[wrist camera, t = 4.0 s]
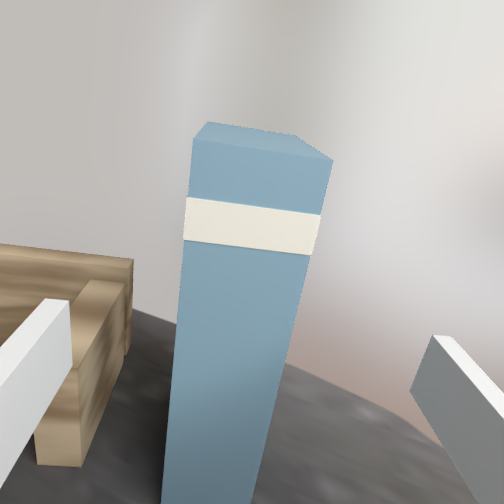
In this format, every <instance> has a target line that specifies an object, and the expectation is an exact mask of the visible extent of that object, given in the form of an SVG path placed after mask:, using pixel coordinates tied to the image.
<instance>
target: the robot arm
mask: <svg viewBox="0 0 504 504" xmlns="http://www.w3.org/2000/svg"><path fill="white" fill-rule="evenodd" d="M72 366H73V362H72V345H71V327H70V309H69V301H67V300H57V299H46V298H45V299H44V300H43V301H42V302H41V304H40V305H39V306H38V307H37V308H36V309H35V310H34V311H33V312H32V313H31V314H30V315H29V317H28V318H27V319H26V320H25V321H24V322H23V323H22V324H21V325H20V326H19V327H18V329H17V330H16V331H15V332H14V333H13V334H12V335H11V336H10V337H9V338H8V339H7V340H6V342H5V343H4V344H3V345H2V346H1V347H0V488H1V486H2V485H3V483H4V481H5V480H6V478H7V476H8V474H9V473H10V471H11V469H12V468H13V466H14V464H15V463H16V461H17V459H18V457H19V456H20V454H21V452H22V451H23V449H24V447H25V446H26V444H27V442H28V440H29V439H30V437H31V435H32V434H33V432H34V430H35V429H36V427H37V425H38V423H39V422H40V420H41V418H42V417H43V415H44V413H45V412H46V410H47V408H48V406H49V405H50V403H51V401H52V400H53V398H54V396H55V395H56V393H57V391H58V389H59V388H60V386H61V384H62V383H63V381H64V379H65V378H66V376H67V374H68V372H69V371H70V369H71V367H72ZM410 392H411V394H412V396H413V397H414V399H415V401H416V402H417V404H418V406H419V407H420V409H421V411H422V412H423V414H424V416H425V417H426V419H427V421H428V422H429V424H430V425H431V427H432V429H433V430H434V432H435V434H436V435H437V437H438V439H439V440H440V442H441V444H442V445H443V447H444V448H445V450H446V452H447V453H448V455H449V457H450V458H451V460H452V462H453V463H454V465H455V467H456V468H457V470H458V471H459V473H460V475H461V476H462V478H463V480H464V481H465V483H466V485H467V486H468V488H469V490H470V491H471V493H472V494H473V496H474V498H475V499H476V501H477V503H478V504H504V393H503V392H502V391H501V390H500V389H499V388H498V387H497V386H496V385H495V384H494V383H493V381H492V380H491V379H490V378H489V377H488V376H487V375H486V374H485V373H484V372H483V371H482V370H481V369H480V367H479V366H478V365H477V364H476V363H475V362H474V361H473V360H472V359H471V358H470V357H469V355H468V354H467V353H466V352H465V351H464V350H463V349H462V348H461V347H460V346H459V345H458V343H457V342H456V341H455V340H454V339H453V338H452V337H450V336H439V335H432V337H431V340H430V342H429V344H428V347H427V349H426V352H425V354H424V357H423V359H422V362H421V364H420V366H419V369H418V371H417V374H416V376H415V379H414V381H413V384H412V386H411V388H410Z"/></svg>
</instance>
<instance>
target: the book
mask: <svg viewBox="0 0 504 504" xmlns="http://www.w3.org/2000/svg"><path fill="white" fill-rule="evenodd" d="M332 164H333V160H332V159H331V158H329V157H328V156H326V155H324V154H323V153H321V152H320V151H318V150H317V149H315V148H314V147H312V146H311V145H309V144H307V143H306V142H304V141H303V140H301V139H300V138H298V137H297V136H295V135H289V134H282V133H276V132H270V131H263V130H258V129H251V128H245V127H238V126H233V125H226V124H220V123H214V122H207V123H206V124H205V125H204V126H203V128H202V129H201V130H200V131H199V132H198V133H197V135H196V136H195V137H194V138H193V146H192V158H191V169H190V180H189V191H188V196H187V201H186V211H185V224H184V234H183V240H184V248H183V260H182V271H181V282H180V293H179V304H178V315H177V327H176V338H175V349H174V360H173V372H172V383H171V394H170V406H169V417H168V428H167V439H166V451H165V462H164V473H163V484H162V496H161V504H251V500H252V496H253V492H254V488H255V484H256V479H257V475H258V471H259V467H260V463H261V459H262V455H263V450H264V446H265V442H266V438H267V434H268V430H269V426H270V421H271V417H272V413H273V409H274V405H275V401H276V396H277V392H278V388H279V384H280V380H281V376H282V372H283V367H284V363H285V359H286V355H287V350H288V347H289V343H290V338H291V334H292V330H293V326H294V322H295V317H296V313H297V309H298V305H299V301H300V297H301V293H302V288H303V284H304V280H305V276H306V272H307V268H308V264H309V260H310V255H311V256H312V253H313V248H314V244H315V240H316V236H317V232H318V228H319V224H320V220H321V215H320V214H321V210H322V205H323V201H324V197H325V193H326V189H327V185H328V180H329V176H330V172H331V168H332Z"/></svg>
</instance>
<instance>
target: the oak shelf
mask: <svg viewBox="0 0 504 504" xmlns="http://www.w3.org/2000/svg"><path fill="white" fill-rule="evenodd" d="M133 262H134V259H129V258H120V257H111V256H103V255H94V254H85V253H77V252H68V251H59V250H51V249H41V248H34V247H25V246H16V245H7V244H0V345H3V344H4V343H5V342H6V340H7V339H8V338H9V337H10V336H11V335H12V334H13V333H14V332H15V331H16V330H17V329H18V327H19V326H20V325H21V324H22V323H23V322H24V321H25V320H26V319H27V318H28V317H29V315H30V314H31V313H32V312H33V311H34V310H35V309H36V308H37V307H38V306H39V305H40V304H41V302H42V301H43V300H44V299H45V298H46V299H57V300H67V301H69V309H70V327H71V345H72V362H73V366H72V367H71V369H70V371H69V372H68V374H67V376H66V378H65V379H64V381H63V383H62V384H61V386H60V388H59V389H58V391H57V393H56V395H55V396H54V398H53V400H52V401H51V403H50V405H49V406H48V408H47V410H46V412H45V413H44V415H43V417H42V418H41V420H40V422H39V423H38V425H37V427H36V429H35V430H34V439H35V448H36V457H37V465H51V466H70V467H82V465H83V462H84V460H85V457H86V455H87V452H88V450H89V447H90V445H91V442H92V440H93V437H94V435H95V432H96V430H97V427H98V425H99V422H100V420H101V417H102V415H103V412H104V410H105V407H106V405H107V402H108V400H109V397H110V395H111V392H112V390H113V387H114V385H115V382H116V380H117V377H118V375H119V372H120V370H121V367H122V365H123V358H124V356H126V355H127V352H128V350H129V347H130V345H131V329H132V294H133Z"/></svg>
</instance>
